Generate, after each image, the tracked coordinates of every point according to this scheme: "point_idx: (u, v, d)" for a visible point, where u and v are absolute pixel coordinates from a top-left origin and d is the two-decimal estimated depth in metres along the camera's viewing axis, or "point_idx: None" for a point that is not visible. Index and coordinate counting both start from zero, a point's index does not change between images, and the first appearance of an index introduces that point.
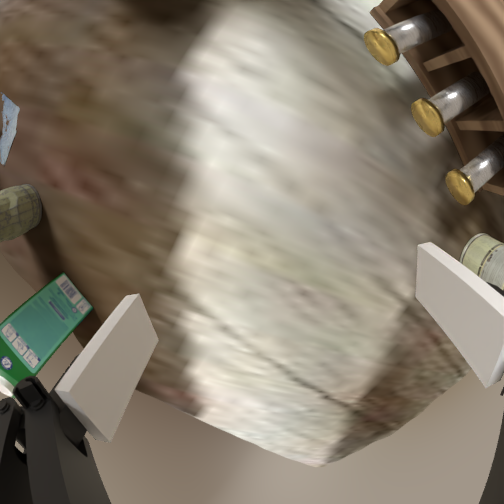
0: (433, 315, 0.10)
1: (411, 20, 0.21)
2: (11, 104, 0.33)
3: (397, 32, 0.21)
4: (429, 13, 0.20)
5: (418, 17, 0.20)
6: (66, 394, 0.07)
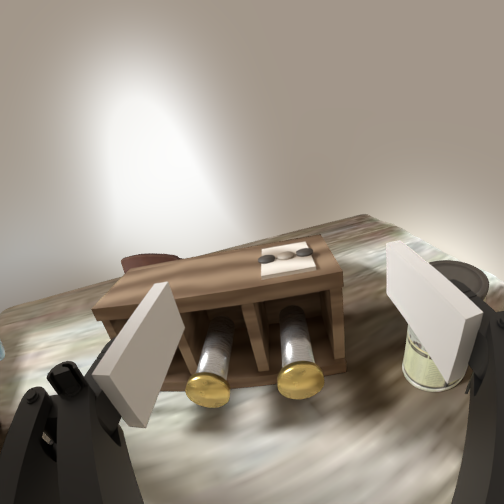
0: (401, 311, 0.11)
1: None
2: None
3: None
4: None
5: None
6: (105, 378, 0.07)
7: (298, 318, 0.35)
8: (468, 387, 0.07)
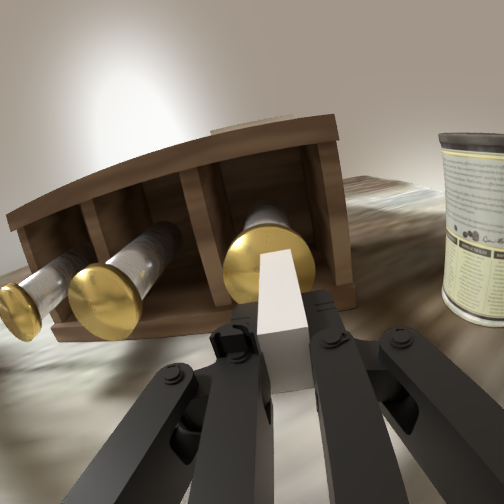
0: None
1: None
2: None
3: None
4: None
5: None
6: (276, 335, 0.08)
7: (273, 203, 0.24)
8: None
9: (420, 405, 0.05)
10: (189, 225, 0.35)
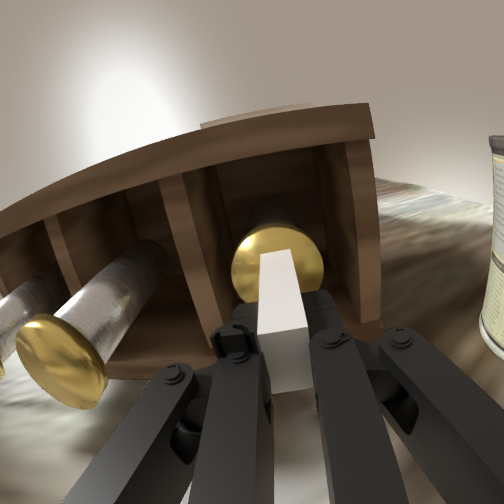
0: None
1: None
2: None
3: None
4: None
5: None
6: (276, 335, 0.08)
7: (278, 203, 0.24)
8: None
9: (420, 405, 0.05)
10: None
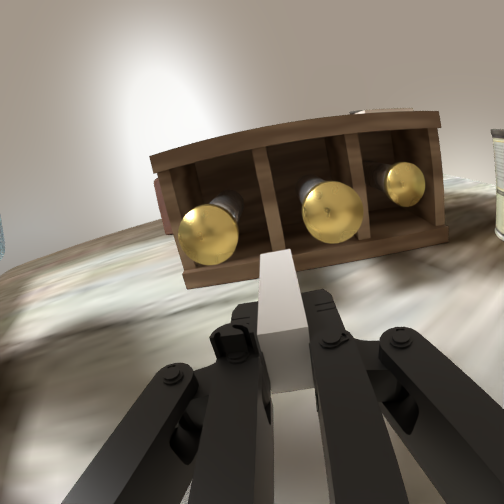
0: None
1: None
2: None
3: None
4: None
5: None
6: (276, 335, 0.08)
7: None
8: None
9: (420, 405, 0.05)
10: None
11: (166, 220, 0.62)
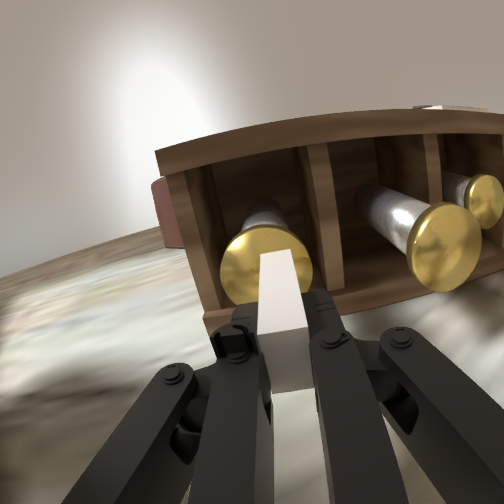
0: None
1: (244, 222, 0.21)
2: None
3: None
4: (246, 212, 0.25)
5: (245, 218, 0.22)
6: (276, 335, 0.08)
7: None
8: None
9: (420, 405, 0.05)
10: (351, 196, 0.32)
11: (166, 231, 0.53)
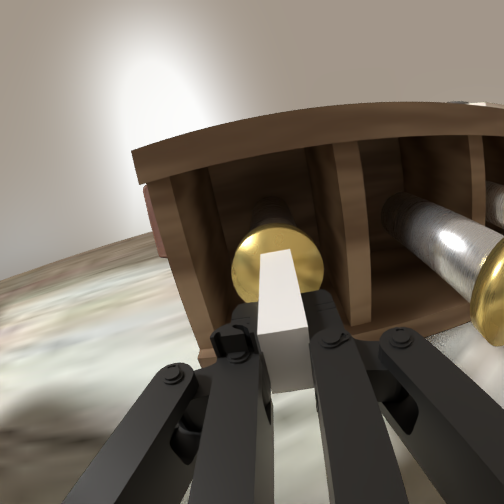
0: None
1: (253, 221, 0.21)
2: None
3: None
4: (254, 211, 0.25)
5: (253, 217, 0.22)
6: (276, 335, 0.08)
7: None
8: None
9: (420, 405, 0.05)
10: (372, 204, 0.27)
11: (159, 239, 0.48)
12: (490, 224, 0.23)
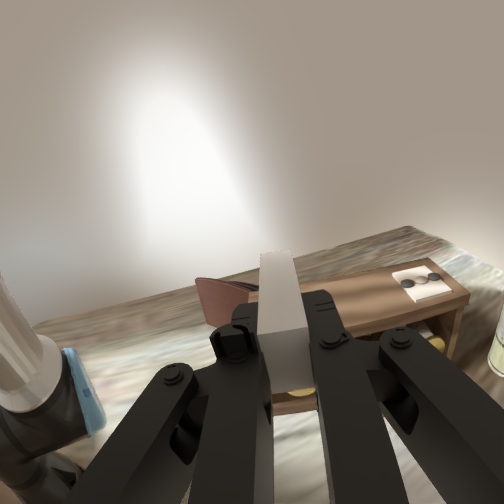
0: None
1: None
2: None
3: None
4: None
5: None
6: (276, 335, 0.08)
7: None
8: None
9: (420, 405, 0.05)
10: None
11: (207, 314, 0.69)
12: None
